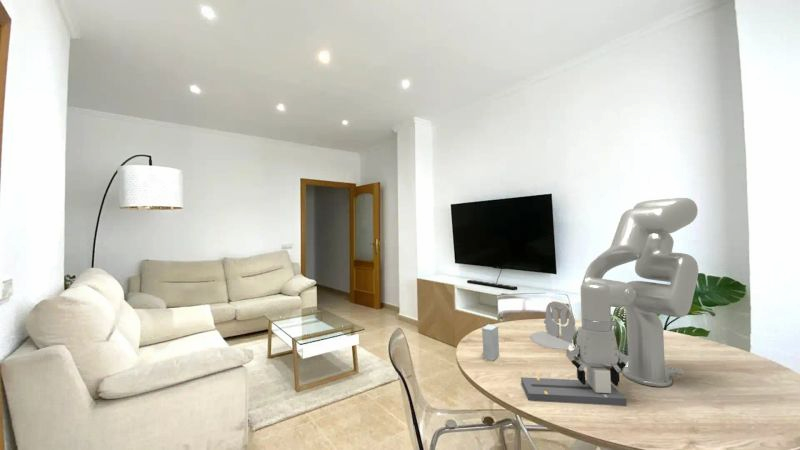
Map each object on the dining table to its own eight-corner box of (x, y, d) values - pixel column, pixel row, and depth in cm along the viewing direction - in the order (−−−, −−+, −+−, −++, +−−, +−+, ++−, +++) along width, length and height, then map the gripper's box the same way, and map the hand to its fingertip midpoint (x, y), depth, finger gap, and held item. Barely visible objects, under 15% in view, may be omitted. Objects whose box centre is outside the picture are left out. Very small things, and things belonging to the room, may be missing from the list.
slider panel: (608, 387, 97) (608, 380, 97) (626, 405, 87) (626, 398, 87) (521, 383, 101) (521, 376, 101) (528, 400, 91) (528, 393, 91)
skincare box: (489, 353, 126) (488, 323, 126) (499, 356, 123) (498, 325, 123) (482, 358, 121) (481, 327, 121) (493, 361, 118) (492, 329, 118)
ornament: (582, 348, 128) (580, 307, 129) (556, 353, 124) (554, 311, 125) (542, 332, 149) (541, 297, 150) (519, 335, 145) (518, 299, 146)
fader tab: (601, 382, 95) (600, 363, 95) (611, 393, 89) (610, 371, 90) (586, 382, 96) (586, 362, 96) (595, 392, 90) (594, 371, 90)
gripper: (621, 321, 95) (623, 378, 95) (560, 320, 98) (562, 375, 98) (635, 329, 88) (637, 391, 88) (569, 327, 91) (571, 387, 90)
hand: (598, 382), depth 93 cm, fingers open, 8 cm apart
